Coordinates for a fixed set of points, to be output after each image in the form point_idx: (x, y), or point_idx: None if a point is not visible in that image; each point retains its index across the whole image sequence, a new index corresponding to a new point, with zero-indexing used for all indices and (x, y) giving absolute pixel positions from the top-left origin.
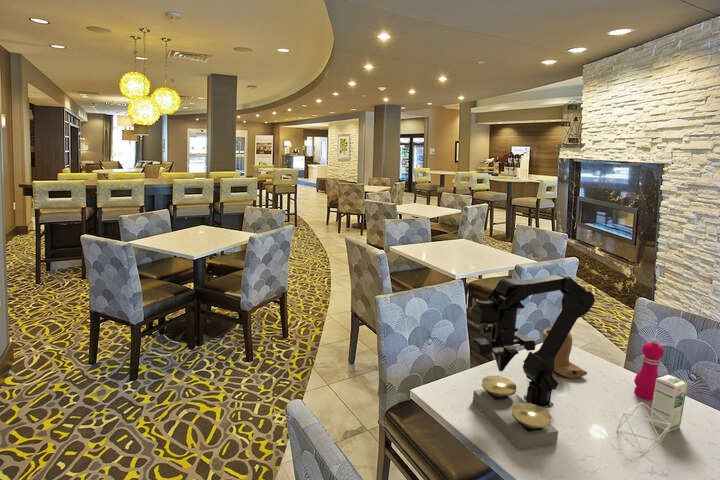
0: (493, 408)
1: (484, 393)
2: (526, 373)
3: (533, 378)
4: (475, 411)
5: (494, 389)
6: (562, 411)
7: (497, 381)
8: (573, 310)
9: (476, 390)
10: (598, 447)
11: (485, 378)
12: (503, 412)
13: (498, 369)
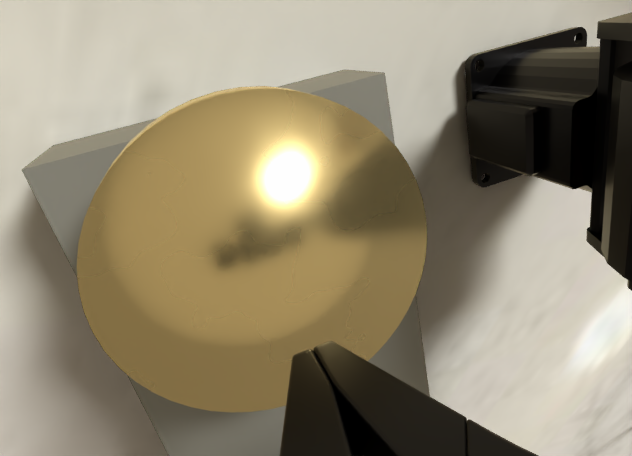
0: (162, 413)
1: None
2: (617, 133)
3: (613, 244)
4: (62, 272)
5: (189, 388)
6: (577, 202)
7: (269, 227)
8: None
9: (52, 175)
10: (543, 422)
11: (136, 171)
12: (222, 439)
13: (293, 361)
